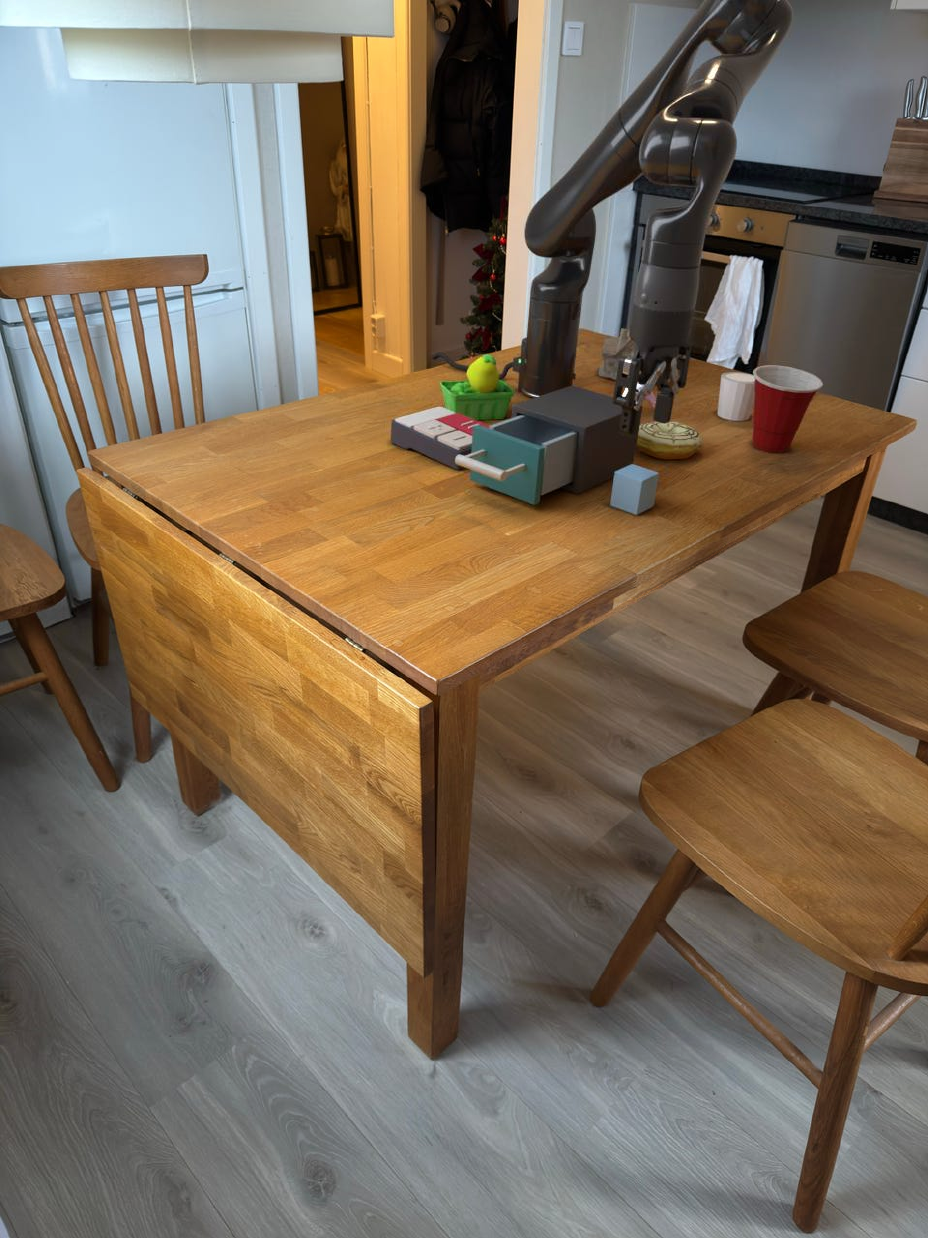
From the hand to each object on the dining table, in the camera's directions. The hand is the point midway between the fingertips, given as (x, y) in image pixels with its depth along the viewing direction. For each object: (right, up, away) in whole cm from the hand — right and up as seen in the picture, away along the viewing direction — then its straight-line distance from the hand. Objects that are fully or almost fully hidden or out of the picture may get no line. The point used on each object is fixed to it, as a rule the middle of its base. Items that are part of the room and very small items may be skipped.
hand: (644, 428), depth 119 cm
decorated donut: (+9, +2, +25) cm, 27 cm away
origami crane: (+7, +11, +41) cm, 43 cm away
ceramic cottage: (+12, +25, +63) cm, 69 cm away
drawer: (-16, -6, +8) cm, 19 cm away
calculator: (-27, +1, +22) cm, 34 cm away
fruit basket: (-22, +9, +35) cm, 42 cm away
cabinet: (-8, -2, +17) cm, 19 cm away
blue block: (-1, -9, +6) cm, 11 cm away
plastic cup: (+27, +3, +29) cm, 40 cm away
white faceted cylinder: (+24, +11, +42) cm, 50 cm away
